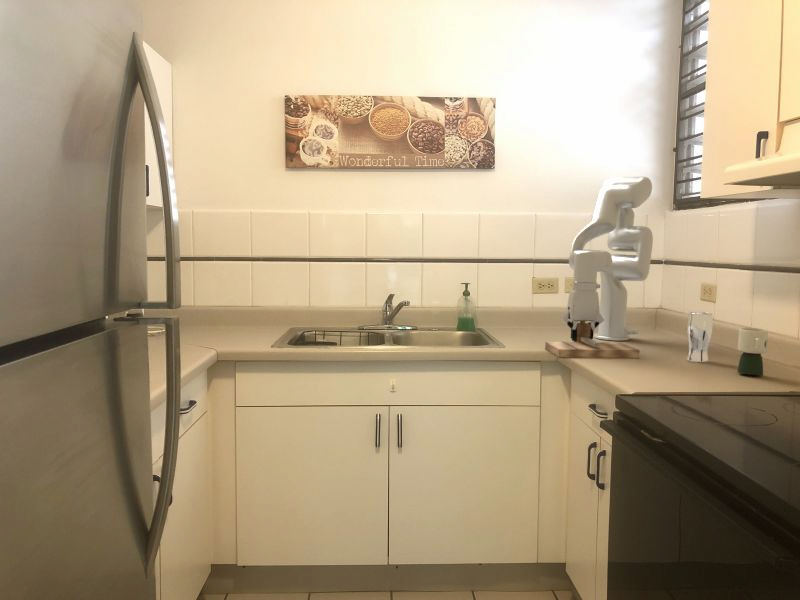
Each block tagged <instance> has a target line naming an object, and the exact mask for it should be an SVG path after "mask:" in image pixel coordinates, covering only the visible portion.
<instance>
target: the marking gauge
mask: <svg viewBox="0 0 800 600" xmlns="http://www.w3.org/2000/svg"><path fill="white" fill-rule="evenodd" d="M590 329H591V324H588V322H586V321H579V322H578V323H577V327H576V330H577V341H576V342H584V343H586V344H588V345H590V346H592V347H595V348H600V343H599V342H600V341H599V342H598V341H596V340H594V339H590Z"/></svg>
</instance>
